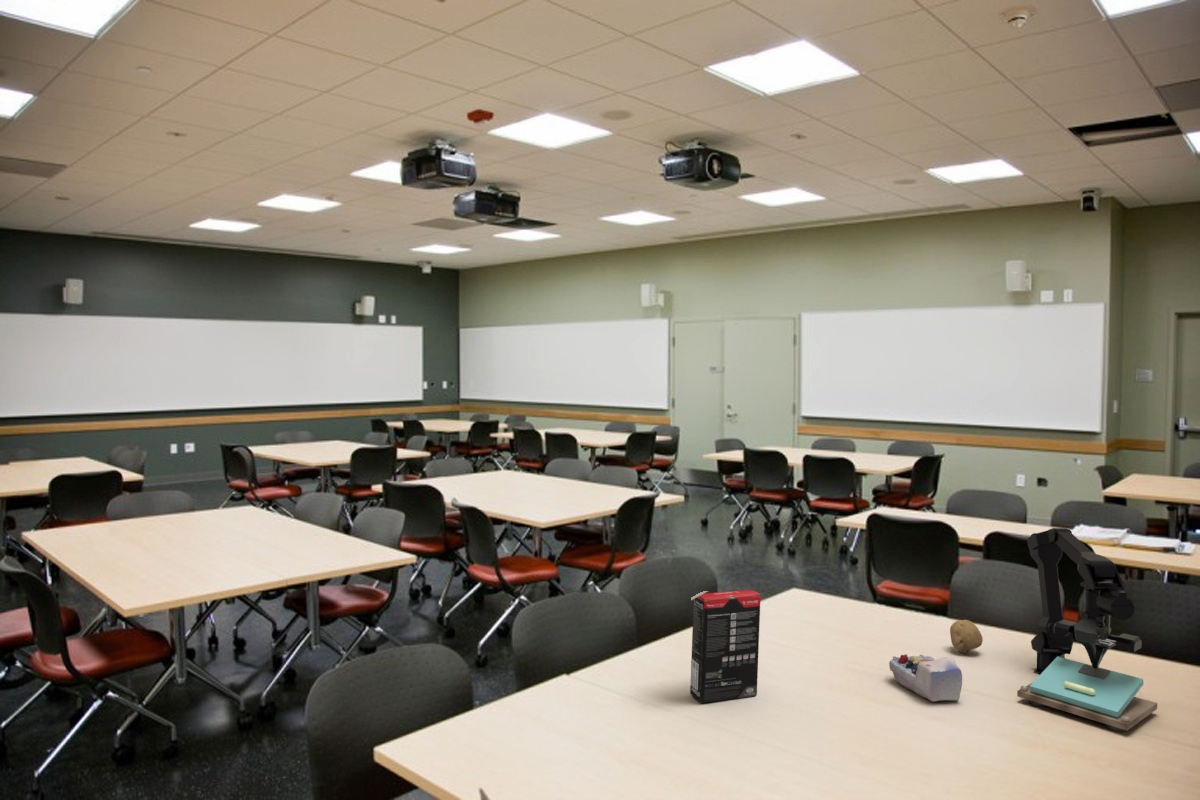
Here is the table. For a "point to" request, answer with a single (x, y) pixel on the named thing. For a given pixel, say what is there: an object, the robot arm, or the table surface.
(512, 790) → the table surface
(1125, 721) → the base
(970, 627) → the potato
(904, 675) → the cell model
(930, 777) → the table surface
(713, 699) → the graphics card box
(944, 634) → the table surface
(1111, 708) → the plate
